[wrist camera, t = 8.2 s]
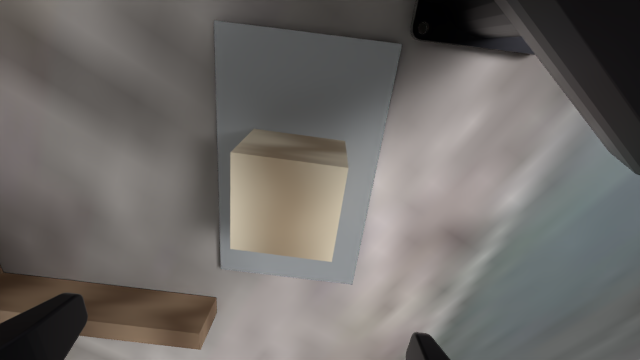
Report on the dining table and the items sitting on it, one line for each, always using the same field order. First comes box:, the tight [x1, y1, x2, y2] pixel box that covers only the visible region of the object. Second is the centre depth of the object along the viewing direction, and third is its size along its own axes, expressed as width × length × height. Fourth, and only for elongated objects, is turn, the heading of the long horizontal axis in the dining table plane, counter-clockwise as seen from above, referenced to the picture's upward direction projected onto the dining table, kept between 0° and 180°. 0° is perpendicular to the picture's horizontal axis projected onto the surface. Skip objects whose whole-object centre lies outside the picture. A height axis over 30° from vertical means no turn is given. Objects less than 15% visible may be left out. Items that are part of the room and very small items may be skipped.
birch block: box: [230, 129, 349, 262], centre depth 15 cm, size 5×5×4 cm
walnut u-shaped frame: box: [0, 265, 217, 350], centre depth 16 cm, size 17×24×3 cm
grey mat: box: [214, 20, 402, 285], centre depth 17 cm, size 9×15×1 cm, turn 173°
